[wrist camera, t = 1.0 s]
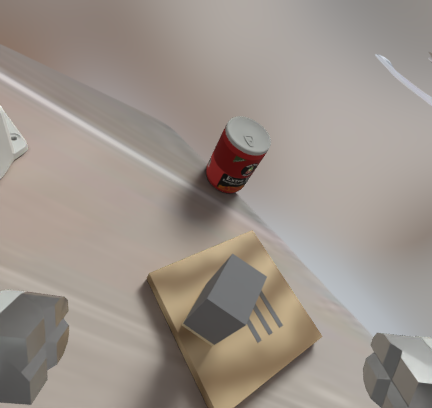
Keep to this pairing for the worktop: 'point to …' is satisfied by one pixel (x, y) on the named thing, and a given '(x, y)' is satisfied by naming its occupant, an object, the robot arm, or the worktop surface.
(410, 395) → the robot arm
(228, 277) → the block
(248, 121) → the canned food
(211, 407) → the oak board
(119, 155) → the worktop surface
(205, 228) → the worktop surface
